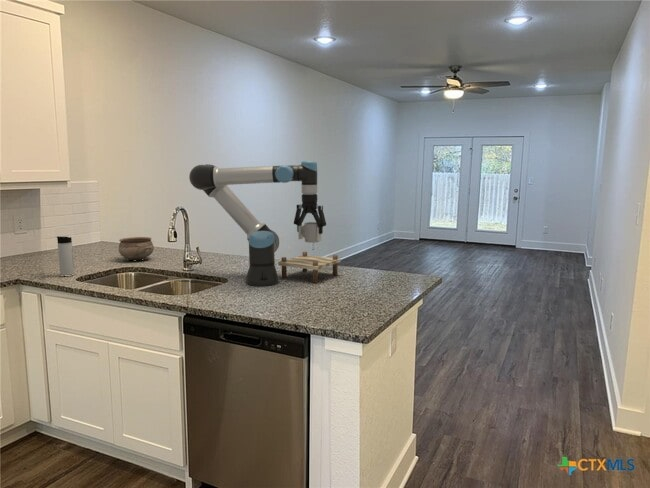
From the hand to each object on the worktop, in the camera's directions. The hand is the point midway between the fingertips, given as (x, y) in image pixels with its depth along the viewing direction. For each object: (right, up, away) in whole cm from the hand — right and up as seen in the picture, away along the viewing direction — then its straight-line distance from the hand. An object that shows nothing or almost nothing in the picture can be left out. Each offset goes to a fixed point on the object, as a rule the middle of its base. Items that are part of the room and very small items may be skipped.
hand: (309, 239), depth 242 cm
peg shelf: (0, -18, +3) cm, 18 cm away
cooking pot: (-101, -12, +46) cm, 112 cm away
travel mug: (-121, -18, +6) cm, 122 cm away
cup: (0, -1, 0) cm, 1 cm away
